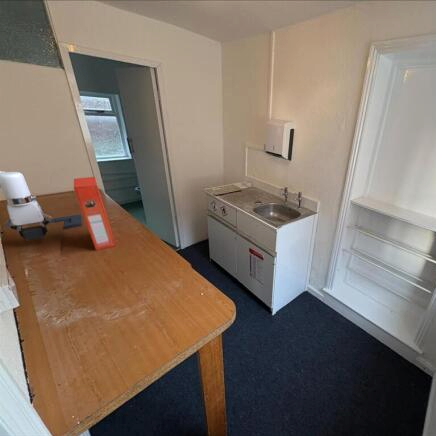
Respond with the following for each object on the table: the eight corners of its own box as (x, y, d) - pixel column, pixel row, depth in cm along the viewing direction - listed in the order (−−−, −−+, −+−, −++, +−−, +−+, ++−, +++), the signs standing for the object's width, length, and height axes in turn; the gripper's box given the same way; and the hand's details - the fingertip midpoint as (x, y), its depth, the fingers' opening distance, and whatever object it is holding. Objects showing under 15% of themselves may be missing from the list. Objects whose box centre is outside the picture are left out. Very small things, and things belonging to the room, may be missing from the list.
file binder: (95, 250, 112) (73, 187, 100) (93, 236, 124) (73, 178, 111) (115, 245, 117) (97, 184, 104) (112, 232, 129) (95, 176, 116)
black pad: (25, 240, 107) (22, 232, 106) (27, 235, 111) (24, 227, 110) (44, 237, 111) (40, 229, 109) (45, 232, 115) (42, 225, 113)
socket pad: (42, 233, 125) (41, 230, 125) (45, 222, 137) (44, 219, 136) (81, 225, 135) (80, 223, 134) (81, 216, 146) (80, 214, 145)
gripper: (48, 194, 111) (60, 228, 119) (-8, 200, 101) (10, 236, 108) (46, 199, 106) (59, 234, 114) (-12, 206, 96) (6, 243, 103)
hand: (35, 235), depth 111 cm, fingers closed on black pad, 6 cm apart
